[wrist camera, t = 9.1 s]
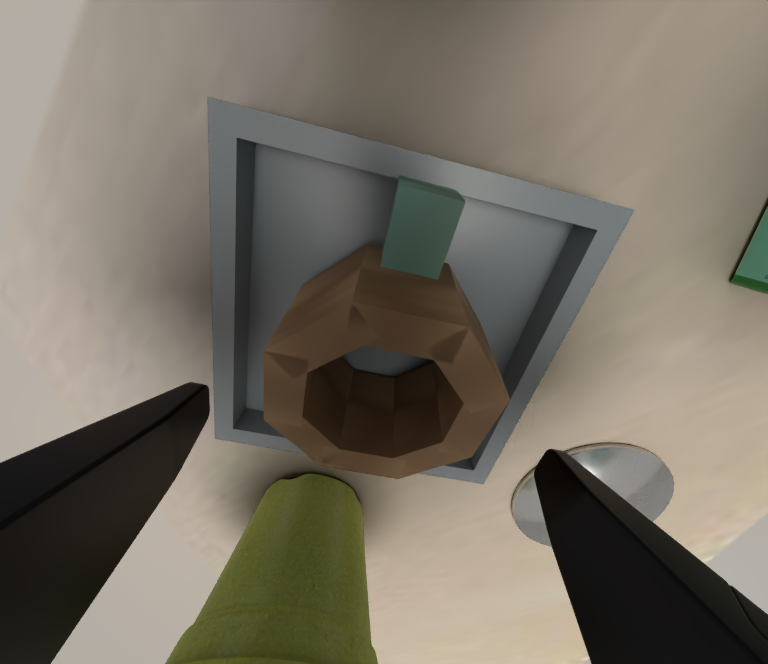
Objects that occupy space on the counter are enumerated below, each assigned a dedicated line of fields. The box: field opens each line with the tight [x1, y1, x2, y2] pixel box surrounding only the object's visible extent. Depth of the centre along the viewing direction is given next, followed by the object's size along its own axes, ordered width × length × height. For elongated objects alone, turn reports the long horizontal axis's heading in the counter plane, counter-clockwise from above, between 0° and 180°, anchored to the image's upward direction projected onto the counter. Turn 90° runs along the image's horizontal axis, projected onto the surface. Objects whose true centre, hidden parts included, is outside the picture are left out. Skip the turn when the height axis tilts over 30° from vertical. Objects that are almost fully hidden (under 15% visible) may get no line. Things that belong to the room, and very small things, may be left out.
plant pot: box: [165, 474, 378, 664], centre depth 15 cm, size 9×9×9 cm
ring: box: [264, 175, 510, 479], centre depth 10 cm, size 7×9×4 cm
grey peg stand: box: [511, 443, 674, 546], centre depth 16 cm, size 9×9×5 cm
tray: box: [208, 97, 634, 484], centre depth 13 cm, size 13×13×2 cm
